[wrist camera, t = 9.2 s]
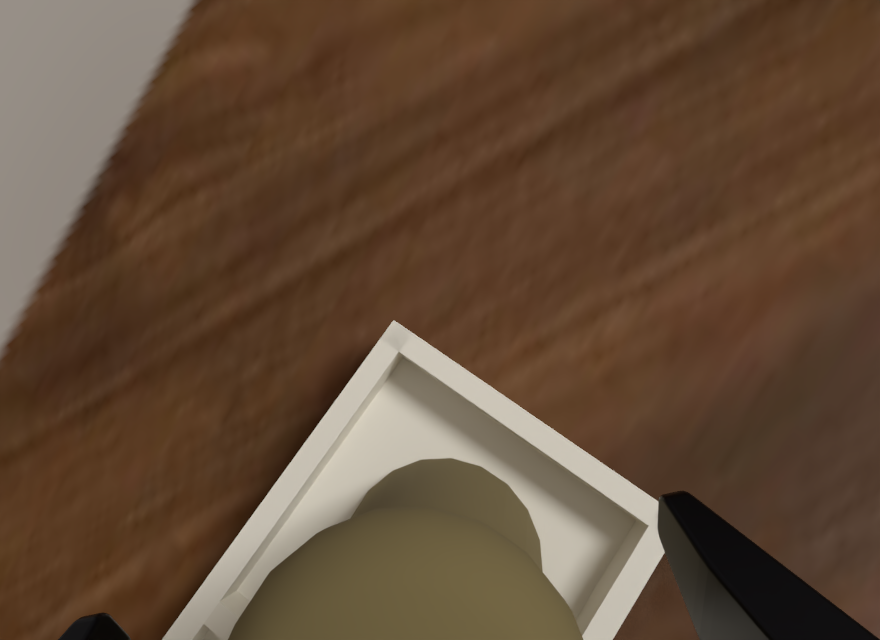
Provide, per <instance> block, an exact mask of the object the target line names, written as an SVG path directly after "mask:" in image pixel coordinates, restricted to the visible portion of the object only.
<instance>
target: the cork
mask: <svg viewBox="0 0 880 640" xmlns="http://www.w3.org/2000/svg"><path fill="white" fill-rule="evenodd" d="M228 640H583V637H582V635H581V632H580V630H579V627H578V625H577V622H576V620H575V617H574V615H573V612H572V610H571V609H570V607H569V606H568V604H567V603H566V601H565V600H564V598H563V597H562V596H561V595H560V593H559V592H558V591H557V590H556V588H555V587H554V586H553V584H552V583H551V582H550V581H549V579H548V578H547V577H546V576H545V574H544V573H543V570H542V558H541V546H540V539H539V537H538V534H537V532H536V529H535V526H534V524H533V521H532V519H531V516H530V514H529V511H528V509H527V508H526V507H525V505H524V504H523V503H522V502H521V500H520V499H519V498H518V497H517V495H516V494H515V493H514V492H513V490H512V489H511V488H510V487H509V485H508V484H507V483H505V482H504V481H502V480H501V479H499V478H498V477H496V476H495V475H493V474H492V473H490V472H489V471H487V470H486V469H484V468H483V467H481V466H478V465H474V464H471V463H467V462H464V461H460V460H457V459H453V458H443V459H422V460H419V461H416V462H414V463H411V464H408V465H406V466H403V467H401V468H398V469H396V470H393V471H392V472H390V473H389V474H388V475H387V476H385V477H384V478H383V479H382V480H381V481H379V482H378V483H377V484H376V485H375V486H373V487H372V488H371V489H370V490H368V492H367V493H366V495H365V497H364V498H363V500H362V501H361V503H360V504H359V506H358V507H357V509H356V510H355V512H354V513H353V515H352V517H351V518H350V519H348V520H346V521H343V522H341V523H338V524H336V525H333V526H330V527H328V528H326V529H324V530H322V531H320V532H318V533H316V534H315V535H314V536H313V537H311V538H310V539H309V540H308V541H307V542H305V543H304V544H303V545H302V546H301V547H299V548H298V549H297V550H296V551H294V552H293V553H292V554H291V555H290V556H288V557H287V558H286V559H285V560H284V561H282V562H281V563H280V564H279V565H277V566H276V567H275V568H274V569H273V570H271V571H270V572H269V574H268V575H267V577H266V578H265V580H264V581H263V583H262V584H261V586H260V587H259V589H258V590H257V592H256V593H255V595H254V596H253V598H252V599H251V601H250V602H249V604H248V605H247V607H246V608H245V610H244V611H243V613H242V614H241V616H240V617H239V619H238V621H237V622H236V624H235V625H234V628H233V630H232V632H231V634H230V636H229V638H228Z"/></svg>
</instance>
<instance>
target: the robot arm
mask: <svg viewBox="0 0 880 640" xmlns="http://www.w3.org/2000/svg"><path fill="white" fill-rule="evenodd" d="M657 528H658V534H659V538H660V541H661V544H662V546H663V549H664V551H665V554H666V556H667V559H668V561H669V564H670V566H671V569H672V571H673V574H674V576H675V579H676V581H677V584H678V586H679V589H680V591H681V594H682V596H683V599H684V601H685V604H686V606H687V609H688V612H689V614H690V617H691V619H692V622H693V624H694V626H695V629H696V631H697V634H698V636H699V638H700V640H880V639H878V638H877V637H876V636H875V635H873V634H872V633H871V632H869V631H868V630H867V629H865V628H864V627H863V626H862V625H860V624H859V623H858V622H856V621H855V620H854V619H852V618H851V617H850V616H849V615H847V614H846V613H845V612H843V611H842V610H841V609H839V608H838V607H837V606H836V605H834V604H833V603H832V602H830V601H829V600H828V599H826V598H825V597H824V596H823V595H821V594H820V593H819V592H817V591H816V590H815V589H813V588H812V587H811V586H810V585H808V584H807V583H806V582H804V581H803V580H802V579H800V578H799V577H798V576H797V575H795V574H794V573H793V572H791V571H790V570H789V569H787V568H786V567H785V566H784V565H782V564H781V563H780V562H778V561H777V560H776V559H774V558H773V557H772V556H771V555H769V554H768V553H767V552H765V551H764V550H763V549H761V548H760V547H759V546H758V545H756V544H755V543H754V542H752V541H751V540H750V539H748V538H747V537H746V536H745V535H743V534H742V533H741V532H739V531H738V530H737V529H735V528H734V527H733V526H732V525H730V524H729V523H728V522H726V521H725V520H724V519H722V518H721V517H720V516H719V515H717V514H716V513H715V512H713V511H712V510H711V509H709V508H708V507H707V506H706V505H704V504H703V503H702V502H700V501H699V500H698V499H696V498H695V497H694V496H693V495H691V494H690V493H688V492H686V491H677V492H672V493H668V494H663V495H661V496H660V498H659V502H658V524H657ZM58 640H131V639H130V637H129V635H128V634H127V633H126V632H125V631H124V630H123V629H122V628H121V627H120V626H119V625H118V623H117V622H116V621H115V620H114V619H113V618H112V617H111V616H110V615H109V614H107V613H98V614H94V615H89V616H84V617H82V618H79V619H78V620H76V621H75V622H74V623H73V624H72V625H71V626H70V627H69V628H68V629H67V630H66V632H65V633H64V634H63V635H62V636H61V637H60V638H59V639H58Z"/></svg>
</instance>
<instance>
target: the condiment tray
mask: <svg viewBox="0 0 880 640" xmlns="http://www.w3.org/2000/svg"><path fill="white" fill-rule="evenodd" d="M443 458H453V459H457V460H460V461H464V462H467V463H471V464H474V465H478V466H481V467H483V468H484V469H486V470H487V471H489V472H490V473H492V474H493V475H495V476H496V477H498V478H499V479H501V480H502V481H504V482H505V483H507V484H508V485H509V487H510V488H511V489H512V490H513V492H514V493H515V494H516V495H517V497H518V498H519V499H520V500H521V502H522V503H523V504H524V505H525V507H526V508H527V509H528V511H529V514H530V516H531V519H532V521H533V524H534V526H535V529H536V532H537V534H538V537H539V539H540V546H541V558H542V570H543V573H544V574H545V576H546V577H547V578H548V579H549V581H550V582H551V583H552V584H553V586H554V587H555V588H556V590H557V591H558V592H559V593H560V595H561V596H562V597H563V598H564V600H565V601H566V603H567V604H568V606H569V607H570V609H571V610H572V612H573V615H574V617H575V620H576V622H577V625H578V627H579V630H580V632H581V635H582V637H583V640H613V638H614V636H615V635H616V633H617V631H618V630H619V628H620V626H621V625H622V623H623V621H624V620H625V618H626V616H627V615H628V613H629V611H630V610H631V608H632V606H633V605H634V603H635V601H636V600H637V598H638V596H639V594H640V593H641V591H642V589H643V588H644V586H645V584H646V583H647V581H648V579H649V578H650V576H651V574H652V573H653V571H654V569H655V568H656V566H657V564H658V563H659V561H660V559H661V558H662V556H663V554H664V552H665V551H664V549H663V546H662V544H661V541H660V538H659V534H658V528H657V524H658V501H657V500H655V499H654V498H652V497H651V496H649V495H648V494H646V493H645V492H643V491H642V490H641V489H639V488H638V487H636V486H635V485H633V484H632V483H630V482H629V481H627V480H626V479H625V478H623V477H622V476H620V475H619V474H617V473H616V472H614V471H613V470H611V469H610V468H608V467H607V466H606V465H604V464H603V463H601V462H600V461H598V460H597V459H595V458H594V457H592V456H591V455H590V454H588V453H587V452H585V451H584V450H582V449H581V448H579V447H578V446H576V445H575V444H574V443H572V442H571V441H569V440H568V439H566V438H565V437H563V436H562V435H560V434H559V433H558V432H556V431H555V430H553V429H552V428H550V427H549V426H547V425H546V424H544V423H543V422H542V421H540V420H539V419H537V418H536V417H534V416H533V415H531V414H530V413H528V412H527V411H525V410H524V409H523V408H521V407H520V406H518V405H517V404H515V403H514V402H512V401H511V400H509V399H508V398H507V397H505V396H504V395H502V394H501V393H499V392H498V391H496V390H495V389H493V388H492V387H491V386H489V385H488V384H486V383H485V382H483V381H482V380H480V379H479V378H477V377H476V376H475V375H473V374H472V373H470V372H469V371H467V370H466V369H464V368H463V367H461V366H460V365H458V364H457V363H456V362H454V361H453V360H451V359H450V358H448V357H447V356H445V355H444V354H442V353H441V352H440V351H438V350H437V349H435V348H434V347H432V346H431V345H429V344H428V343H426V342H425V341H424V340H422V339H421V338H419V337H418V336H416V335H415V334H413V333H412V332H410V331H409V330H408V329H406V328H405V327H403V326H402V325H400V324H399V323H397V322H396V321H394V320H393V322H392V323H391V324H390V326H389V327H388V329H387V330H386V331H385V333H384V334H383V335H382V337H381V338H380V340H379V341H378V342H377V344H376V345H375V346H374V348H373V349H372V351H371V352H370V353H369V355H368V356H367V358H366V359H365V360H364V362H363V363H362V364H361V366H360V367H359V369H358V370H357V371H356V373H355V374H354V375H353V377H352V378H351V380H350V381H349V382H348V384H347V385H346V386H345V388H344V389H343V391H342V392H341V393H340V395H339V396H338V397H337V399H336V400H335V402H334V403H333V404H332V406H331V407H330V409H329V410H328V411H327V413H326V414H325V415H324V417H323V418H322V420H321V421H320V422H319V424H318V425H317V426H316V428H315V429H314V431H313V432H312V433H311V435H310V436H309V437H308V439H307V440H306V442H305V443H304V444H303V446H302V447H301V449H300V450H299V451H298V453H297V454H296V455H295V457H294V458H293V460H292V461H291V462H290V464H289V465H288V466H287V468H286V469H285V471H284V472H283V473H282V475H281V476H280V477H279V479H278V480H277V482H276V483H275V484H274V486H273V487H272V489H271V490H270V491H269V493H268V494H267V495H266V497H265V498H264V500H263V501H262V502H261V504H260V505H259V506H258V508H257V509H256V511H255V512H254V513H253V515H252V516H251V517H250V519H249V520H248V522H247V523H246V524H245V526H244V527H243V528H242V530H241V531H240V533H239V534H238V535H237V537H236V538H235V540H234V541H233V542H232V544H231V545H230V546H229V548H228V549H227V551H226V552H225V553H224V555H223V556H222V557H221V559H220V560H219V562H218V563H217V564H216V566H215V567H214V568H213V570H212V571H211V573H210V574H209V575H208V577H207V578H206V580H205V581H204V582H203V584H202V585H201V586H200V588H199V589H198V591H197V592H196V593H195V595H194V596H193V597H192V599H191V600H190V602H189V603H188V604H187V606H186V607H185V608H184V610H183V611H182V613H181V614H180V615H179V617H178V618H177V620H176V621H175V622H174V624H173V625H172V626H171V628H170V629H169V631H168V632H167V633H166V635H165V636H164V637H163V639H162V640H228V638H229V636H230V634H231V632H232V630H233V628H234V625H235V624H236V622H237V621H238V619H239V617H240V616H241V614H242V613H243V611H244V610H245V608H246V607H247V605H248V604H249V602H250V601H251V599H252V598H253V596H254V595H255V593H256V592H257V590H258V589H259V587H260V586H261V584H262V583H263V581H264V580H265V578H266V577H267V575H268V574H269V572H270V571H271V570H273V569H274V568H275V567H276V566H277V565H279V564H280V563H281V562H282V561H284V560H285V559H286V558H287V557H288V556H290V555H291V554H292V553H293V552H294V551H296V550H297V549H298V548H299V547H301V546H302V545H303V544H304V543H305V542H307V541H308V540H309V539H310V538H311V537H313V536H314V535H315V534H316V533H318V532H320V531H322V530H324V529H326V528H328V527H330V526H333V525H336V524H338V523H341V522H343V521H346V520H348V519H350V518H351V517H352V515H353V513H354V512H355V510H356V509H357V507H358V506H359V504H360V503H361V501H362V500H363V498H364V497H365V495H366V493H367V492H368V490H370V489H371V488H372V487H373V486H375V485H376V484H377V483H378V482H379V481H381V480H382V479H383V478H384V477H385V476H387V475H388V474H389V473H390V472H392V471H393V470H396V469H398V468H401V467H403V466H406V465H408V464H411V463H414V462H416V461H419V460H422V459H443Z"/></svg>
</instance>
